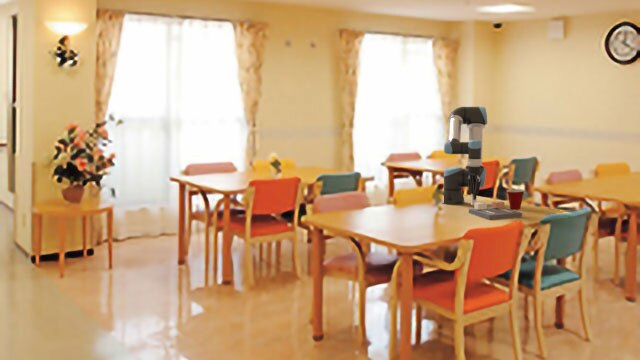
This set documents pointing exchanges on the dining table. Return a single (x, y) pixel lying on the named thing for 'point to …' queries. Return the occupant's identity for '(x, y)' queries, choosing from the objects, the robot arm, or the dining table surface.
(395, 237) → the dining table surface
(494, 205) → the fader
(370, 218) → the dining table surface
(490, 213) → the slider panel
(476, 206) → the fader
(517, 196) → the plastic cup
